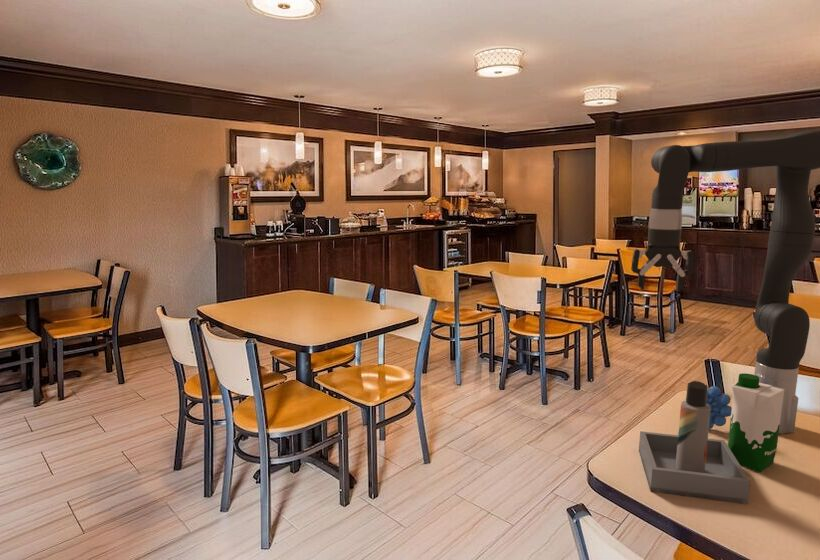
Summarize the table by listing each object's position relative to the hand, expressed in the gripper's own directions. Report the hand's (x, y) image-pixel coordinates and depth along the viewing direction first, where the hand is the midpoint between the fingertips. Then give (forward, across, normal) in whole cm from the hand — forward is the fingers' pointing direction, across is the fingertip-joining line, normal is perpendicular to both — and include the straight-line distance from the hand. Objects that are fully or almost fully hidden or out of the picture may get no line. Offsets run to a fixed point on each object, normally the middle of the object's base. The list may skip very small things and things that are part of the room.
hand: (659, 290), depth 140 cm
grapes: (+36, +14, 0) cm, 39 cm away
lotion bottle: (+35, +4, -26) cm, 44 cm away
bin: (+36, +4, -27) cm, 45 cm away
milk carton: (+36, +19, -17) cm, 44 cm away
